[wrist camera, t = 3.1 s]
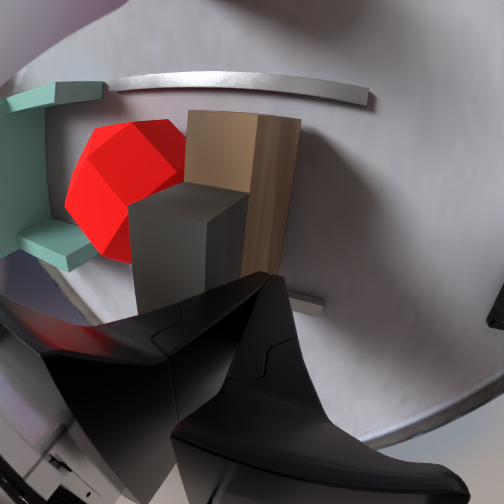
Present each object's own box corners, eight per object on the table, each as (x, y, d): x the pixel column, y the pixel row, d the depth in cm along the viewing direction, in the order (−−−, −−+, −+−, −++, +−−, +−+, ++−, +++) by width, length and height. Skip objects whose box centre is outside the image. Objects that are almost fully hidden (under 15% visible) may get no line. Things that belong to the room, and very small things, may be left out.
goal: (103, 81, 19) (21, 84, 12) (106, 248, 26) (43, 289, 19) (39, 95, 21) (-25, 105, 14) (46, 227, 28) (-8, 256, 21)
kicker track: (368, 90, 14) (368, 88, 13) (321, 311, 21) (320, 317, 20) (116, 79, 18) (109, 79, 18) (118, 252, 25) (112, 256, 24)
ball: (114, 177, 22) (40, 205, 16) (167, 99, 18) (83, 101, 12) (176, 249, 23) (112, 300, 16) (244, 180, 19) (182, 215, 12)
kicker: (301, 119, 15) (214, 112, 6) (277, 276, 20) (204, 408, 10) (260, 113, 16) (128, 111, 6) (243, 267, 20) (151, 386, 11)
